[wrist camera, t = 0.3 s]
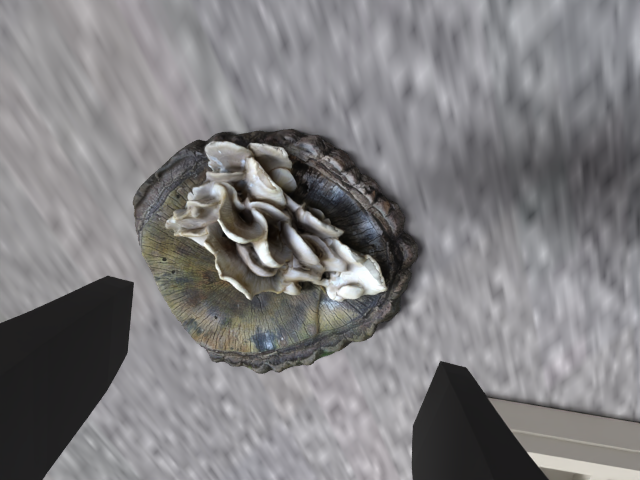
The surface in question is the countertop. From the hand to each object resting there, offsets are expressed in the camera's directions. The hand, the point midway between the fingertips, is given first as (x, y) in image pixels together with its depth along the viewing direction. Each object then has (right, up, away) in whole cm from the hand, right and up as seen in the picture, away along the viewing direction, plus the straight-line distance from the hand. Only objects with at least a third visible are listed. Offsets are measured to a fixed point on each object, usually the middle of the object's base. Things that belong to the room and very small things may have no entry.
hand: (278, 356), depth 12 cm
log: (-1, +2, +11) cm, 11 cm away
